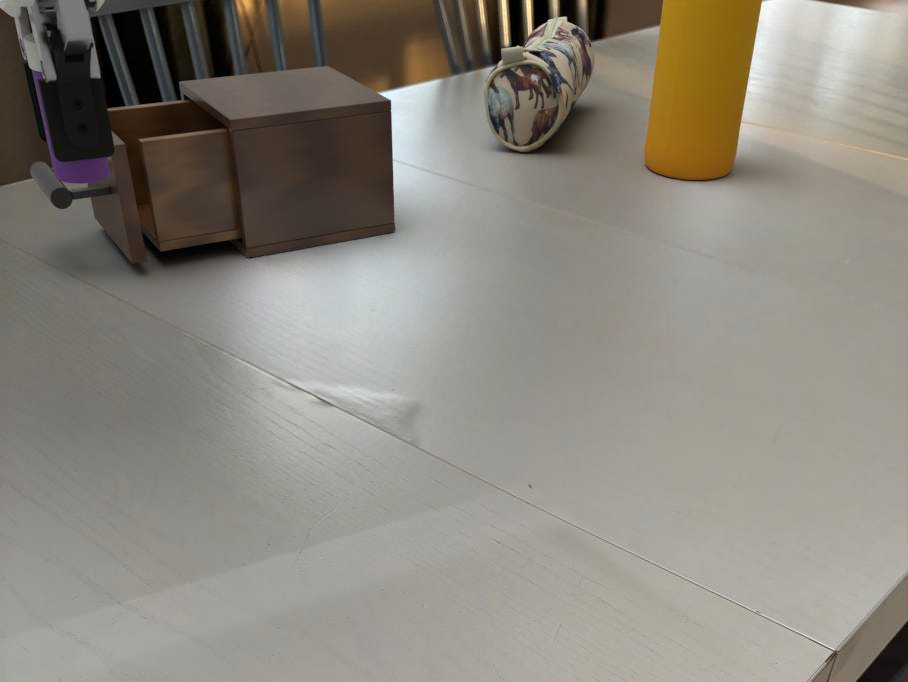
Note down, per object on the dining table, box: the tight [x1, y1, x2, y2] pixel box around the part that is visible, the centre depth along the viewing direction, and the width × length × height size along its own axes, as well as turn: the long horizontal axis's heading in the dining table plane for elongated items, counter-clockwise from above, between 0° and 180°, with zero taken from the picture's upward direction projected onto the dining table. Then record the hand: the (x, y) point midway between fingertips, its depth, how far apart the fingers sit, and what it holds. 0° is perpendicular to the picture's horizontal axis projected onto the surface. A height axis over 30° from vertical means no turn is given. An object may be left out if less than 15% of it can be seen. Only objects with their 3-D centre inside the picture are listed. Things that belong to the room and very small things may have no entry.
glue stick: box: [23, 31, 110, 185], centre depth 58 cm, size 3×3×7 cm
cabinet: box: [178, 65, 396, 259], centre depth 90 cm, size 14×13×11 cm
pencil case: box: [483, 16, 596, 153], centre depth 114 cm, size 22×8×10 cm, turn 166°
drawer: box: [29, 99, 242, 265], centre depth 85 cm, size 17×11×9 cm, turn 120°
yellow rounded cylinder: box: [643, 0, 763, 181], centre depth 98 cm, size 9×9×29 cm
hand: (76, 144), depth 59 cm, fingers closed on glue stick, 3 cm apart
